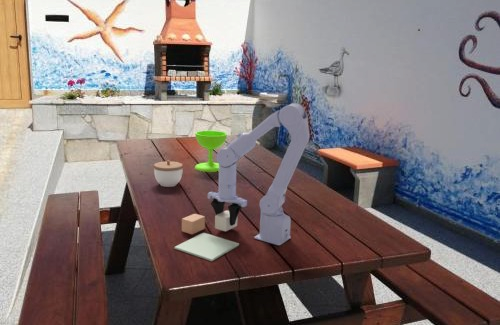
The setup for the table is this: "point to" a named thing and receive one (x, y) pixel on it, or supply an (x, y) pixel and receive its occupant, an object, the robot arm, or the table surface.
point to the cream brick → (224, 221)
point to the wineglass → (210, 148)
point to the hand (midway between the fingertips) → (226, 222)
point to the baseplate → (207, 246)
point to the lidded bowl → (168, 173)
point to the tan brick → (193, 223)
